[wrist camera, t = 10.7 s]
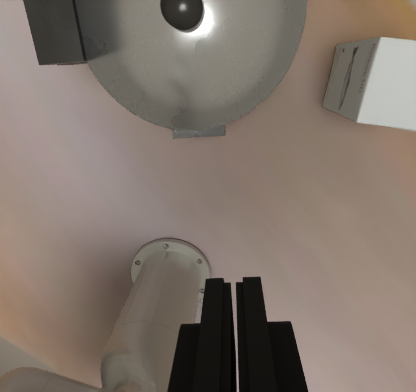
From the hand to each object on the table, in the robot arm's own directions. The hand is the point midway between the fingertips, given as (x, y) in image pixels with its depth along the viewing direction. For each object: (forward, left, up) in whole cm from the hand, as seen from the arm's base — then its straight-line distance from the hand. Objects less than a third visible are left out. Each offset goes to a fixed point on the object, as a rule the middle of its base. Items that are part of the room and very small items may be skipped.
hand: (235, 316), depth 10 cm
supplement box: (+5, -15, -35) cm, 38 cm away
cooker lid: (+12, +5, -23) cm, 26 cm away
